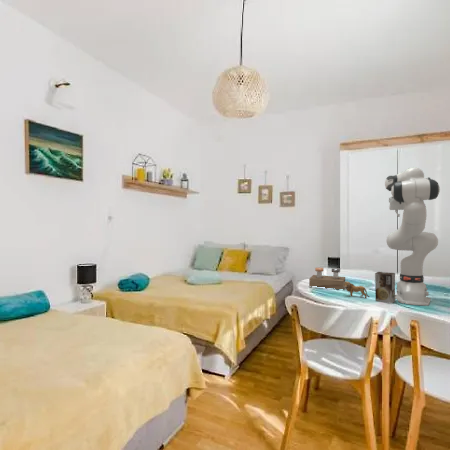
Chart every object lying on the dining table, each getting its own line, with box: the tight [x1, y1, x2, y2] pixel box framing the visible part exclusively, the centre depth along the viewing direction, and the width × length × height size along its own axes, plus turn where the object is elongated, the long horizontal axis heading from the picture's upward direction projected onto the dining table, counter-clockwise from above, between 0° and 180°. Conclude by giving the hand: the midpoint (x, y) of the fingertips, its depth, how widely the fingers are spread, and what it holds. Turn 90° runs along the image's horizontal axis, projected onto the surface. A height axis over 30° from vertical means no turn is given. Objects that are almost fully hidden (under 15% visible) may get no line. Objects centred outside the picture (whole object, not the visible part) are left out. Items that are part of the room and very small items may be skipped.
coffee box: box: [374, 271, 396, 304], centre depth 179 cm, size 9×6×16 cm
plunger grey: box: [331, 267, 341, 279], centre depth 217 cm, size 6×6×8 cm
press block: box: [308, 274, 346, 290], centre depth 219 cm, size 16×22×6 cm
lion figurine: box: [343, 280, 370, 299], centre depth 189 cm, size 15×5×9 cm, turn 68°
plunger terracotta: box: [314, 266, 325, 278], centre depth 222 cm, size 6×6×8 cm
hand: (406, 216), depth 211 cm, fingers open, 8 cm apart
